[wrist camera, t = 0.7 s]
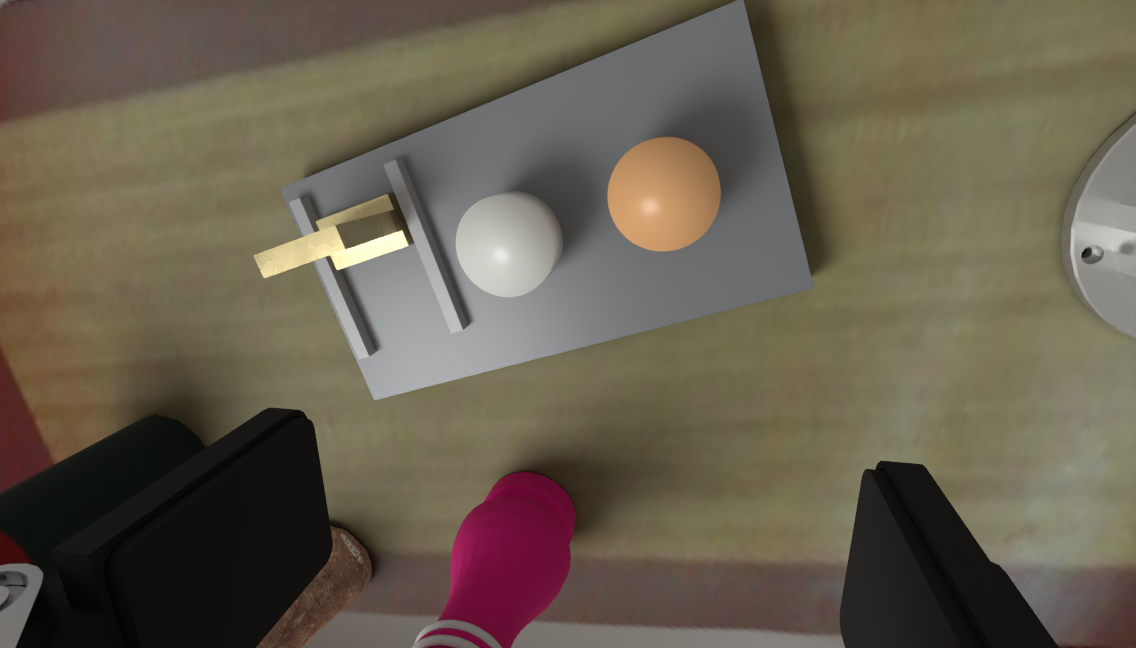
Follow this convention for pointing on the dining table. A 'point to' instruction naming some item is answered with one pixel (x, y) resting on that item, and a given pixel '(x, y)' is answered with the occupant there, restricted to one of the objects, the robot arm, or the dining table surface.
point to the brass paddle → (344, 238)
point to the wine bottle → (88, 488)
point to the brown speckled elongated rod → (323, 594)
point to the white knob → (509, 243)
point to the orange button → (664, 193)
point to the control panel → (565, 211)
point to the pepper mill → (505, 564)
